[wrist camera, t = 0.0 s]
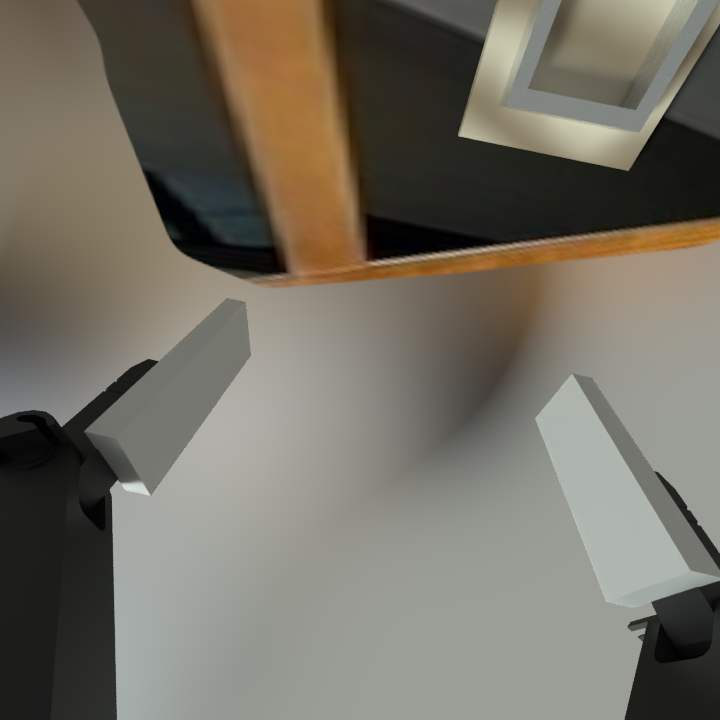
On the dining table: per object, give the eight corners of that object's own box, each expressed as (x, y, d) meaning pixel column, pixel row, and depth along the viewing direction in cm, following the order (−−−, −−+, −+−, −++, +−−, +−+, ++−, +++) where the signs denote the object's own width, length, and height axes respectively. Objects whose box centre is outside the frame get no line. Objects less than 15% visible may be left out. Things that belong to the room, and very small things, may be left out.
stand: (547, -171, 19) (555, -189, 18) (797, -125, 19) (821, -141, 18) (457, 135, 30) (459, 136, 28) (620, 168, 29) (628, 170, 28)
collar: (571, -108, 20) (592, -138, 17) (738, -77, 20) (780, -103, 17) (498, 106, 27) (505, 105, 24) (620, 131, 27) (639, 132, 24)
